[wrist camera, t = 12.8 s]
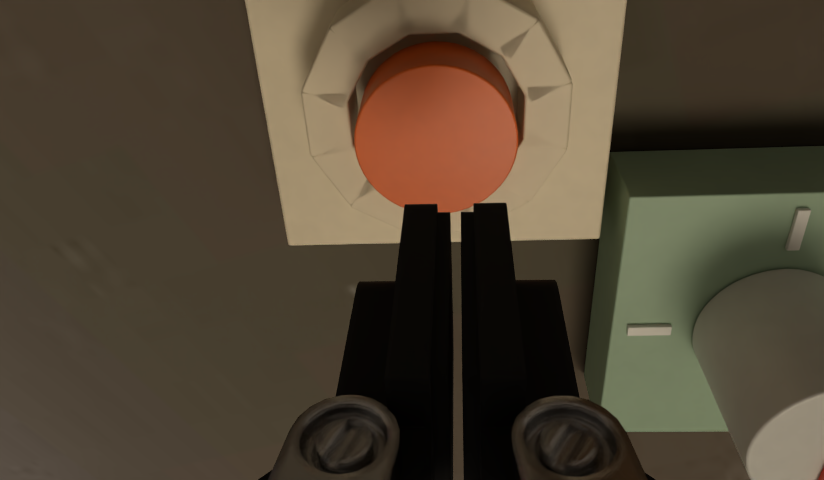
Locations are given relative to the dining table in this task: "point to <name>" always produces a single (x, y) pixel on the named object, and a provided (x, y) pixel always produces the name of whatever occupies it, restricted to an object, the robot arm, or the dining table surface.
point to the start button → (436, 127)
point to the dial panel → (689, 267)
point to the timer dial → (769, 370)
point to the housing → (446, 22)
